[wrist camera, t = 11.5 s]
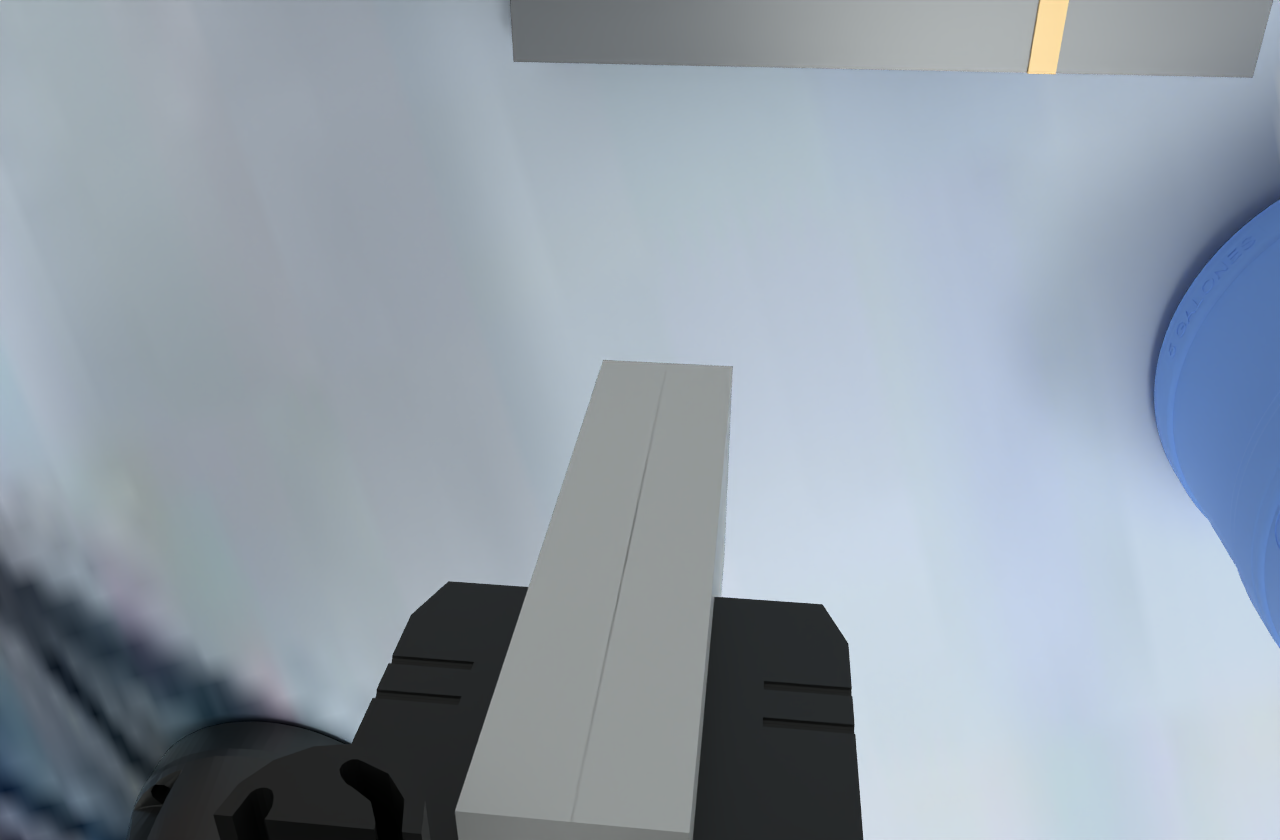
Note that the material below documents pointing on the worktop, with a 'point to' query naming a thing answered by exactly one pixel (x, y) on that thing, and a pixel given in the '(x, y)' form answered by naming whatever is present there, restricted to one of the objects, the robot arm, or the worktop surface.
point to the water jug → (1231, 403)
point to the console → (901, 34)
